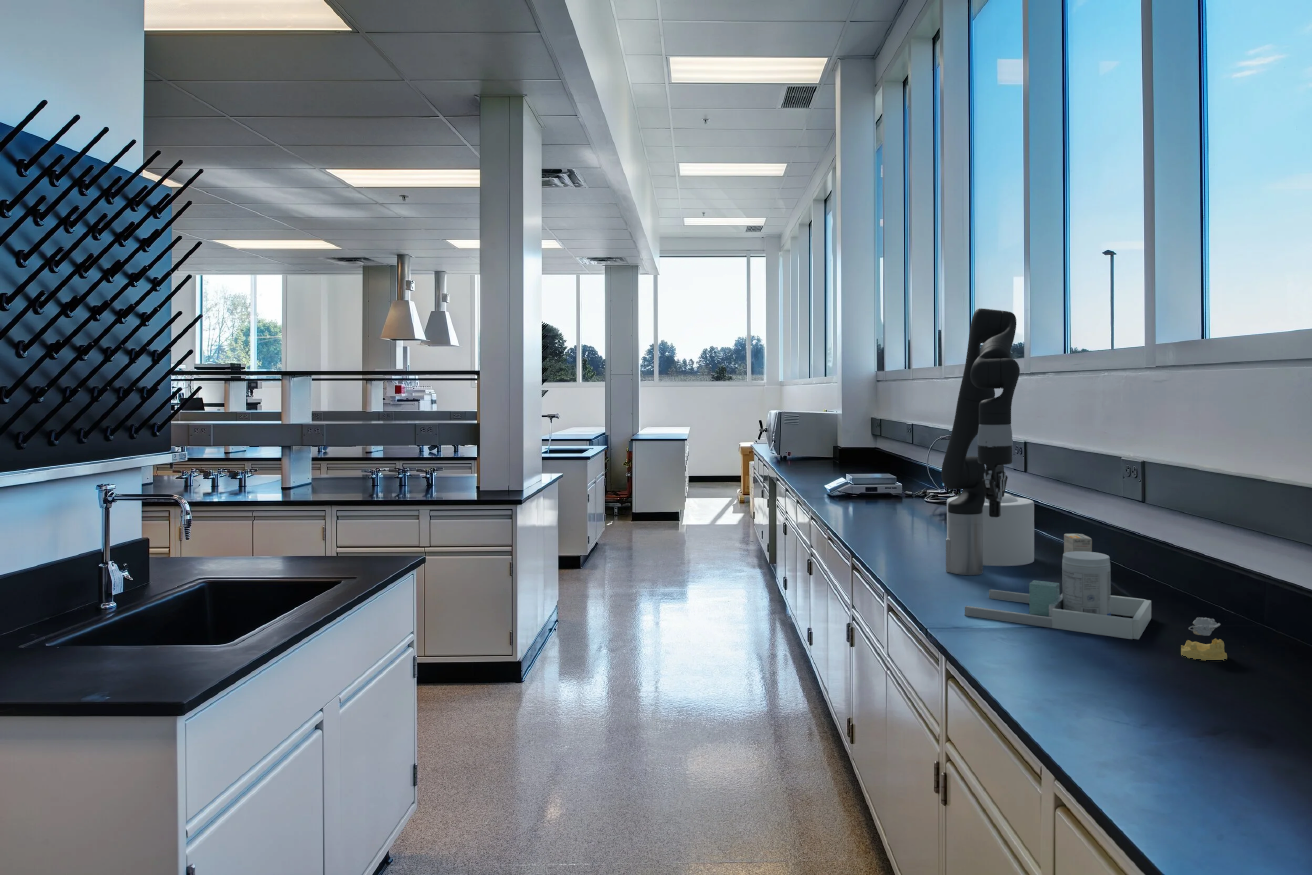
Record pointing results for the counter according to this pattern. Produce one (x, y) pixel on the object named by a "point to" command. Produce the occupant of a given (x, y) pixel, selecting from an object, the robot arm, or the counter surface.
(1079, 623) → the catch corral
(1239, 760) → the counter surface
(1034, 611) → the scraper sled
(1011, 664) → the counter surface
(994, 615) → the guide rails
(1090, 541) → the supplement box
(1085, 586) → the supplement tub
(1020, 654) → the counter surface
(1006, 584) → the counter surface
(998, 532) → the container
